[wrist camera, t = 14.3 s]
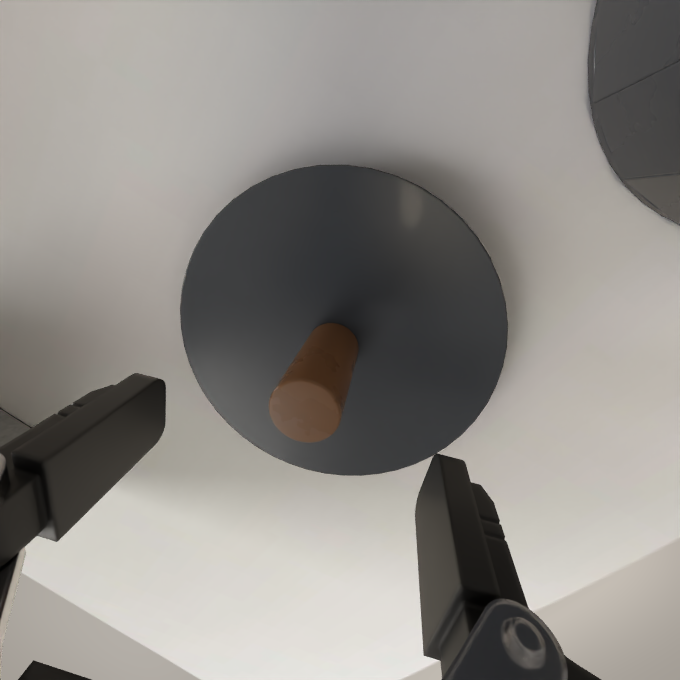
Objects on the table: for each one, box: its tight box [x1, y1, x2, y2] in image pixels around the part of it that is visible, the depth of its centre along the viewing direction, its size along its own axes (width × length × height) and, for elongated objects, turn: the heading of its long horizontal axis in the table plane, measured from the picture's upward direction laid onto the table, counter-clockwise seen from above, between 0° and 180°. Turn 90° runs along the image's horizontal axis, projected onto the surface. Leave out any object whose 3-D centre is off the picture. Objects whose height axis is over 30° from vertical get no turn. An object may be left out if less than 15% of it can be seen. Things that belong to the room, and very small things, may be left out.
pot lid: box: [180, 165, 508, 476], centre depth 14 cm, size 15×15×7 cm
